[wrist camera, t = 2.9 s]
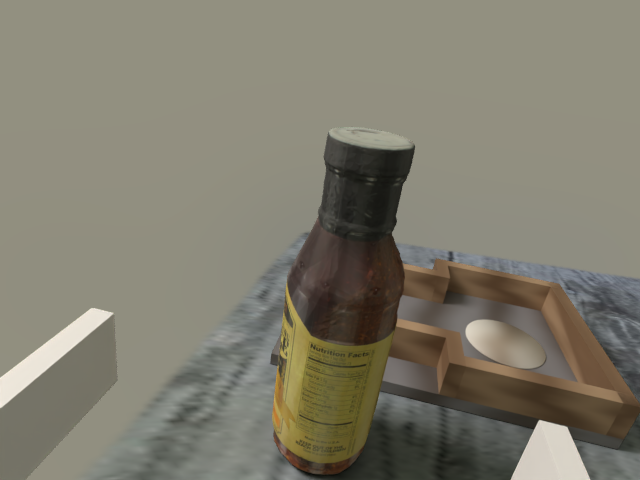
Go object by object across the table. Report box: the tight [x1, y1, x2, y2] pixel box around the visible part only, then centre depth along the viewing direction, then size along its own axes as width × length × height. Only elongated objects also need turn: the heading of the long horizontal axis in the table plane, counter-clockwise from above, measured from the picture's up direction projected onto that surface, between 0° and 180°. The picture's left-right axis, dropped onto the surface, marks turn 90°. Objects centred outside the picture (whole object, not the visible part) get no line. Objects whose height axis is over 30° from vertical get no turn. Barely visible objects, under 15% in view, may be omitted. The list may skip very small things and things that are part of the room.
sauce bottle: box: [272, 127, 415, 475], centre depth 24 cm, size 6×6×20 cm
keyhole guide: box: [270, 259, 640, 449], centre depth 40 cm, size 26×18×4 cm
